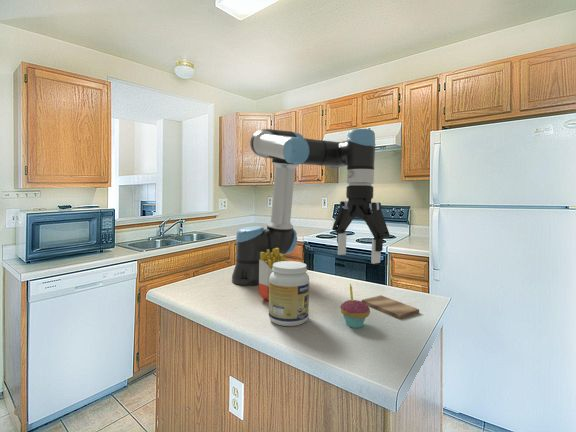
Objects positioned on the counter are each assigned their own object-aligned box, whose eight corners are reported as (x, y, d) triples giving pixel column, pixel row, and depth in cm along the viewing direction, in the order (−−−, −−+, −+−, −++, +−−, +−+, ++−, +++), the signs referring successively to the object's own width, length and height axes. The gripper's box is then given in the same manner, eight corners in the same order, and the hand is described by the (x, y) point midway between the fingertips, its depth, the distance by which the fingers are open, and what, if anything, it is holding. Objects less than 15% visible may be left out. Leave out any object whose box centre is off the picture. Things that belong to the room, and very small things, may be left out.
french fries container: (288, 296, 115) (289, 248, 113) (267, 304, 107) (268, 252, 105) (279, 293, 118) (280, 247, 116) (258, 300, 110) (259, 250, 108)
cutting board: (361, 303, 109) (361, 299, 109) (380, 298, 115) (380, 295, 115) (399, 319, 96) (399, 315, 96) (419, 312, 101) (419, 309, 101)
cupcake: (334, 324, 91) (335, 284, 90) (349, 316, 97) (351, 279, 96) (360, 333, 85) (361, 291, 84) (374, 324, 91) (376, 285, 91)
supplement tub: (303, 330, 87) (304, 270, 86) (262, 324, 90) (263, 267, 89) (311, 314, 99) (313, 261, 97) (275, 309, 102) (276, 258, 101)
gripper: (322, 185, 97) (320, 252, 98) (385, 183, 76) (382, 268, 77) (340, 186, 101) (338, 250, 102) (405, 184, 80) (402, 265, 81)
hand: (357, 258), depth 90 cm, fingers open, 13 cm apart
